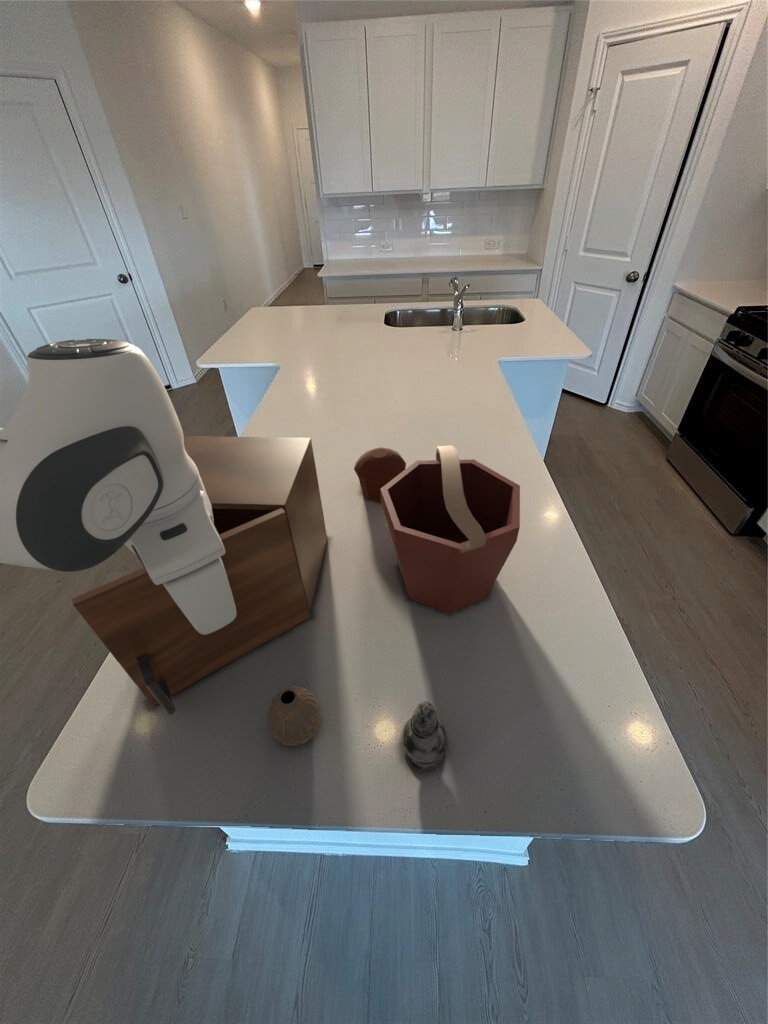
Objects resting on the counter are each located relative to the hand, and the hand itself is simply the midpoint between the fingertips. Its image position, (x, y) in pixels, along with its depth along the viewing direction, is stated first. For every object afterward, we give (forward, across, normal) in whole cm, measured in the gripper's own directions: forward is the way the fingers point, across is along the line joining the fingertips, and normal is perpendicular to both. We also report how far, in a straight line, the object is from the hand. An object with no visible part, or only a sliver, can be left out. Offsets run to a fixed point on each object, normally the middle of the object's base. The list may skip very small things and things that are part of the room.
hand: (203, 596), depth 52 cm
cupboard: (+22, -22, +10) cm, 33 cm away
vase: (+22, +10, +4) cm, 24 cm away
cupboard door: (+22, -4, +1) cm, 22 cm away
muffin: (+22, -27, +44) cm, 56 cm away
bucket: (+22, +1, +38) cm, 44 cm away
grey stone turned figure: (+22, +22, +16) cm, 35 cm away
